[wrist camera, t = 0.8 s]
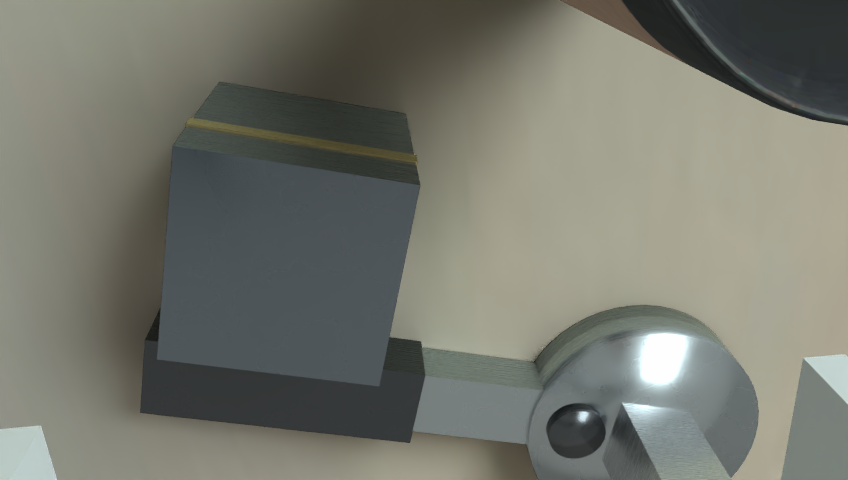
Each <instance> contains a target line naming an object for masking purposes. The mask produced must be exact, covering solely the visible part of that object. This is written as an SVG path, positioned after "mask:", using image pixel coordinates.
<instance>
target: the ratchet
mask: <svg viewBox="0 0 848 480" xmlns="http://www.w3.org/2000/svg"><path fill="white" fill-rule="evenodd" d="M160 311H161V308H160V310H159V312H158V314H157V316H156V318H155V320H154V322H153V324H152V327H151V329H150V331H149V333H148V335H147V337H146V339H145V348H144V363H143V379H142V394H141V409H140V413H147V414H156V415H165V416H174V417H183V418H191V419H200V420H209V421H218V422H227V423H236V424H245V425H254V426H263V427H272V428H281V429H290V430H299V431H308V432H317V433H326V434H335V435H344V436H353V437H362V438H371V439H380V440H389V441H398V442H407V443H410V440H411V436H412V432H413V431H414V432H422V433H431V434H440V435H449V436H458V437H466V438H475V439H484V440H493V441H502V442H510V443H519V444H526V445H527V448H528V452H529V455H530V458H531V462H532V465H533V468H534V471H535V473H536V476H537V478H538V480H731V477H732V476H733V475H734V474H735V473H736V472H737V470H738V469H739V468H740V466H741V465H742V463H743V462H744V460H745V459H746V457H747V455H748V453H749V451H750V449H751V447H752V444H753V441H754V438H755V435H756V430H757V426H758V413H759V410H758V401H757V396H756V393H755V390H754V387H753V385H752V382H751V380H750V378H749V376H748V375H747V374H746V372H745V371H744V369H743V368H742V367H741V365H740V364H739V363H738V362H737V360H736V359H735V358H734V357H733V355H732V354H731V353H730V352H729V350H728V349H727V348H726V347H725V345H724V344H723V343H722V342H721V340H720V339H719V338H718V337H717V335H716V334H715V333H714V332H713V331H712V330H711V329H710V328H709V327H707V326H706V325H705V324H703V323H702V322H701V321H699V320H698V319H696V318H694V317H692V316H690V315H688V314H686V313H683V312H680V311H678V310H675V309H671V308H666V307H661V306H650V305H636V306H626V307H619V308H614V309H611V310H607V311H603V312H600V313H598V314H595V315H593V316H590V317H588V318H586V319H584V320H582V321H580V322H578V323H576V324H574V325H573V326H571V327H570V328H568V329H567V330H565V331H564V332H562V333H561V334H560V335H559V336H558V337H556V338H555V339H554V340H553V341H552V342H551V343H550V344H549V345H548V346H547V347H546V348H545V349H544V350H543V351H542V352H541V354H540V355H539V357H538V358H537V359H536V361H535V362H528V361H520V360H512V359H505V358H497V357H489V356H482V355H474V354H466V353H458V352H451V351H443V350H435V349H428V348H422V345H421V342H420V341H413V340H405V339H397V338H390V337H389V341H388V346H387V351H386V356H385V361H384V365H383V370H382V375H381V380H380V385H379V386H372V385H364V384H355V383H347V382H339V381H331V380H322V379H314V378H306V377H298V376H289V375H281V374H273V373H265V372H256V371H248V370H240V369H232V368H223V367H215V366H207V365H199V364H191V363H182V362H174V361H166V360H158V359H157V352H158V339H159V325H160Z"/></svg>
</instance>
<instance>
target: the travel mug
mask: <svg viewBox="0 0 848 480" xmlns="http://www.w3.org/2000/svg"><path fill="white" fill-rule="evenodd" d="M561 1H563V2H565V3H567V4H569V5H571V6H573V7H575V8H577V9H579V10H581V11H582V12H584V13H586V14H588V15H590V16H592V17H594V18H596V19H598V20H600V21H602V22H604V23H606V24H608V25H610V26H612V27H614V28H616V29H618V30H620V31H622V32H624V33H626V34H628V35H630V36H632V37H634V38H636V39H638V40H640V41H642V42H644V43H646V44H648V45H650V46H652V47H654V48H656V49H658V50H660V51H662V52H664V53H666V54H668V55H670V56H672V57H674V58H676V59H678V60H680V61H682V62H684V63H686V64H688V65H690V66H692V67H694V68H696V69H698V70H699V71H701V72H703V73H705V74H707V75H709V76H711V77H713V78H715V79H717V80H719V81H721V82H723V83H725V84H727V85H729V86H731V87H733V88H735V89H737V90H739V91H741V92H743V93H745V94H747V95H749V96H751V97H753V98H755V99H757V100H759V101H761V102H763V103H765V104H768V105H770V106H772V107H774V108H777V109H780V110H783V111H786V112H789V113H793V114H796V115H799V116H802V117H805V118H808V119H812V120H817V121H823V122H829V123H836V124H842V125H848V0H561Z"/></svg>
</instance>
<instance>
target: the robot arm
mask: <svg viewBox="0 0 848 480" xmlns="http://www.w3.org/2000/svg"><path fill="white" fill-rule="evenodd" d="M0 480H57V478H56V474H55V471H54V468H53V464H52V461H51V458H50V454H49V451H48V448H47V444H46V441H45V438H44V434H43V431H42V428H41V426H30V427H19V428H7V429H0ZM781 480H848V357H847V356H846V355H845V354H842V355H831V356H820V357H808V358H803V362H802V368H801V373H800V379H799V384H798V390H797V395H796V401H795V406H794V412H793V417H792V423H791V428H790V434H789V439H788V445H787V450H786V456H785V461H784V467H783V472H782V478H781Z"/></svg>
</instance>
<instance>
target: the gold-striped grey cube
mask: <svg viewBox="0 0 848 480" xmlns="http://www.w3.org/2000/svg"><path fill="white" fill-rule="evenodd" d="M417 162H418V161H417V157H416V155H414V152H413V147H412V142H411V137H410V132H409V128H408V123H407V118H406V114H404V113H398V112H392V111H386V110H380V109H375V108H369V107H363V106H357V105H351V104H346V103H340V102H334V101H328V100H322V99H317V98H311V97H305V96H299V95H293V94H288V93H282V92H276V91H270V90H264V89H259V88H253V87H247V86H241V85H235V84H230V83H224V82H219V83H218V84H217V86H216V87H215V88H214V90H213V91H212V93H211V94H210V95H209V97H208V98H207V99H206V101H205V102H204V103H203V105H202V106H201V108H200V109H199V110H198V112H197V113H196V114H195V116H194V117H193V118H190V119H189V120H188V121H187V123H186V128H185V130H184V131H183V132H182V134H181V135H180V136H179V138H178V139H177V141H176V142H175V143H174V145H173V149H172V162H171V176H170V189H169V203H168V217H167V230H166V244H165V257H164V271H163V284H162V298H161V311H160V325H159V339H158V352H157V359H158V360H166V361H174V362H182V363H191V364H199V365H207V366H215V367H223V368H232V369H240V370H248V371H256V372H265V373H273V374H281V375H289V376H298V377H306V378H314V379H322V380H331V381H339V382H347V383H355V384H364V385H372V386H379V385H380V380H381V375H382V370H383V365H384V361H385V356H386V351H387V346H388V341H389V336H390V331H391V326H392V321H393V316H394V312H395V307H396V302H397V297H398V292H399V287H400V282H401V277H402V272H403V268H404V263H405V258H406V253H407V248H408V243H409V238H410V233H411V228H412V224H413V219H414V214H415V209H416V204H417V199H418V194H419V189H420V181H419V176H418V172H417Z"/></svg>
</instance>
